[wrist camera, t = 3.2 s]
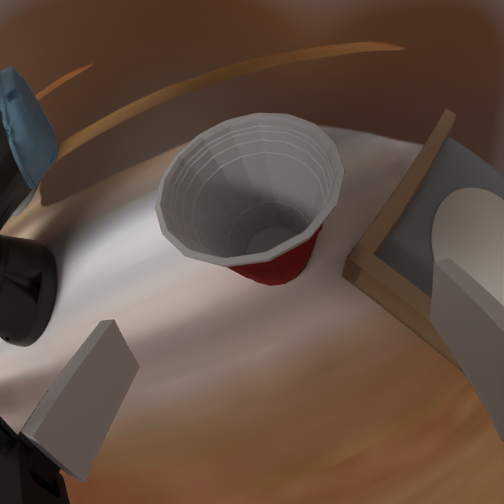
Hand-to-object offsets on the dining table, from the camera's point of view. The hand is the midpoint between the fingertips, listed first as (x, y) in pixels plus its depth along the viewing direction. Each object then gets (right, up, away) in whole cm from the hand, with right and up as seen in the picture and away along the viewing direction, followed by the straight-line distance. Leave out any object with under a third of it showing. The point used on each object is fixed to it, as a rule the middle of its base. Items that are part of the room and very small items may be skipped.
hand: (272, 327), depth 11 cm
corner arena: (+22, +3, +10) cm, 24 cm away
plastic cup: (+1, +3, +15) cm, 16 cm away
